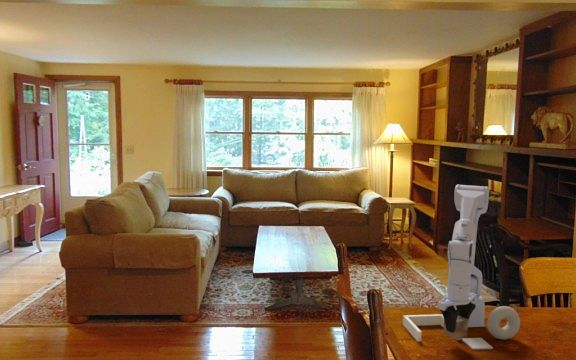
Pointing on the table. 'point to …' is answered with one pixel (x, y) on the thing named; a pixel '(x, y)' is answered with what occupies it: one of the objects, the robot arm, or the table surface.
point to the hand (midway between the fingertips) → (455, 329)
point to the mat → (476, 343)
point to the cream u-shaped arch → (421, 323)
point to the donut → (512, 322)
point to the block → (458, 328)
